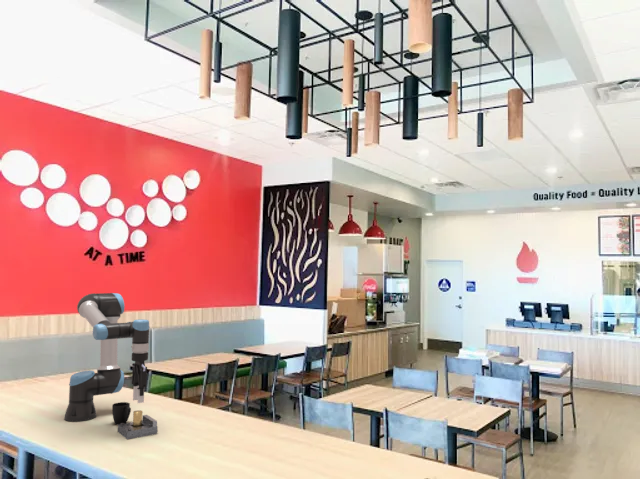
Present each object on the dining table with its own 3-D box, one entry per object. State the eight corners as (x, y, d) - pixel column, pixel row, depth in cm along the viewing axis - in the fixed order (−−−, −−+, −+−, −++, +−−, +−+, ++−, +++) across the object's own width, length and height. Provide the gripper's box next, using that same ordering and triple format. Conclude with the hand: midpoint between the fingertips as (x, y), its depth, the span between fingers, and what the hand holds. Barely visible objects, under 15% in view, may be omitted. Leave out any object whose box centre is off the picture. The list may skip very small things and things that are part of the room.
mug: (120, 428, 253) (121, 408, 254) (108, 423, 261) (109, 404, 262) (136, 424, 259) (136, 405, 260) (123, 420, 267) (124, 401, 268)
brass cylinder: (131, 432, 246) (132, 411, 247) (139, 431, 249) (140, 409, 249) (134, 434, 243) (135, 413, 244) (142, 433, 246) (143, 411, 246)
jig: (117, 431, 247) (118, 419, 247) (146, 426, 256) (147, 414, 256) (127, 439, 236) (127, 425, 236) (157, 433, 245) (157, 420, 245)
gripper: (125, 350, 253) (124, 398, 252) (138, 355, 239) (137, 406, 237) (141, 349, 258) (139, 396, 257) (154, 353, 243) (153, 404, 242)
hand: (138, 401), depth 247 cm, fingers open, 6 cm apart
